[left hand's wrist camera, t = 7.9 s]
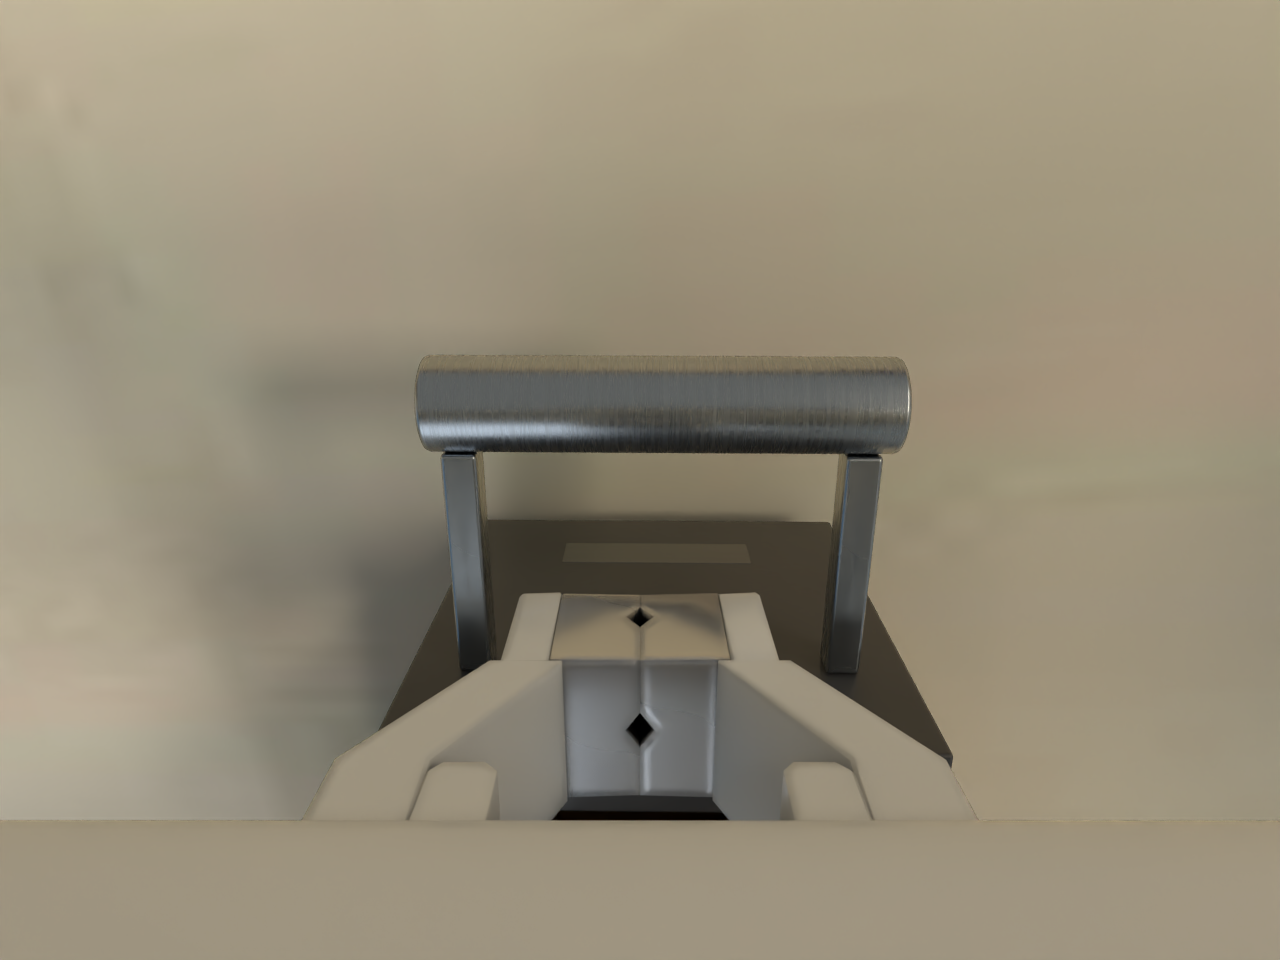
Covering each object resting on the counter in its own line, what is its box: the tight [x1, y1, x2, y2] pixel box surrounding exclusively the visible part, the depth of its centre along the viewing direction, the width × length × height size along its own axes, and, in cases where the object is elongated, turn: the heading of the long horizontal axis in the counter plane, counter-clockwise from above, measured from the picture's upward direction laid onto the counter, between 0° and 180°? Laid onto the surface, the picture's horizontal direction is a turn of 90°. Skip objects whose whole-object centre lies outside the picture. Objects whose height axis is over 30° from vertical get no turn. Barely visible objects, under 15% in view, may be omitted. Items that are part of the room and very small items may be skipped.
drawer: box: [379, 355, 953, 820], centre depth 19 cm, size 26×9×9 cm, turn 0°
